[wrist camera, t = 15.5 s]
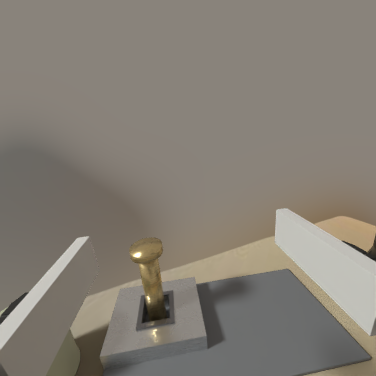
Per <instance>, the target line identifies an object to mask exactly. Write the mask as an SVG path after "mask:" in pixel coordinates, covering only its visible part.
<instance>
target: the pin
mask: <svg viewBox="0 0 376 376" xmlns="http://www.w3.org/2000/svg"><path fill="white" fill-rule="evenodd" d="M129 252H130V257H131V260H132V261H133V262H135V263H138V264H139V268H140V274H141V279H142V284H143V289H144V294H145V300H146V305H147V310H148V315H149V320H150V322H151V321H156V320H162V319H167V313H166V307H165V301H164V294H163V288H162V281H161V275H160V268H159V262H158V258H159V257H160V256H161V254H162V252H163V249H162V242H161V241H160V240H159V239H157V238H145V239H141V240H139V241H137V242H135V243H134V244H133V245H132V246H131V247H130V249H129Z"/></svg>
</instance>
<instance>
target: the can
mask: <svg viewBox="0 0 376 376" xmlns="http://www.w3.org/2000/svg"><path fill="white" fill-rule="evenodd" d="M7 308H8V307H7ZM7 308H6V309H7ZM6 309H4V310H3V311H1V312H0V316H1V314H2V313H3V312H4V311H5V310H6ZM79 363H80V350H79V348H78V346H77V345H76V343H75V340H74V338H73V335H72V333H71V330H70V329H69V331H68V333H67V335H66V337H65V339H64V341H63V343H62V345H61V347H60V349H59V351H58V353H57V355H56V357H55V359H54V361H53V362H52V364H51V366H50V368H49V370H48V372H47V374H46V376H75V374H76V372H77V369H78V367H79Z"/></svg>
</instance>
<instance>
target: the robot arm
mask: <svg viewBox="0 0 376 376" xmlns="http://www.w3.org/2000/svg"><path fill="white" fill-rule="evenodd" d="M275 243H276V244H277V245H278V246H279V247H280V248H281V249H282V250H283V251H284V252H285V253H286V254H287V255H288V256H289V257H290V258H291V259H292V260H293V261H294V262H295V263H296V264H297V265H298V266H299V267H300V268H301V269H302V270H303V271H304V272H305V273H306V274H307V275H308V276H309V277H310V278H311V279H312V280H313V281H314V282H315V283H317V284H318V285H319V286H320V287H321V288H322V289H323V290H324V291H325V292H326V293H327V294H328V295H329V296H330V297H331V298H332V299H333V300H334V301H335V302H336V303H337V304H338V305H339V306H340V307H341V308H342V309H343V310H344V311H345V312H346V313H347V314H348V315H349V316H350V317H351V318H352V319H353V320H354V321H355V322H356V323H357V324H358V325H359V326H360V327H361V328H362V329H363V330H364V331H365V332H366V333H367V334H368V335H369V336H373V335H376V235H375V240H374V243H373V246H372V248H371V249H370V250H369V251H368V252H366V251H364V250H362V249H360V248H359V247H357V246H355V245H353V244H350V243H347V242H345V241H340V240H339V239H337V238H335V237H334V236H332V235H330V234H329V233H327V232H325V231H324V230H322V229H320V228H319V227H317V226H315V225H314V224H312V223H310V222H309V221H307V220H305V219H303V218H302V217H300V216H299V215H297V214H295V213H294V212H292V211H290V210H289V209H287V208H285V209H277V211H276V229H275ZM98 272H99V266H98V263H97V260H96V256H95V253H94V250H93V246H92V243H91V240H90V237H89V236H88V237H81V238H77V239H76V240H75V241H74V242H73V244H72V245H71V246H70V247H69V248H68V249H67V250H66V251H65V253H64V254H63V255H62V256H61V257H60V258H59V259H58V261H57V262H56V263H55V264H54V265H53V266H52V267H51V268H50V269H49V271H48V272H47V273H46V274H45V275H44V276H43V277H42V278H41V280H40V281H39V282H38V283H37V284H36V285H35V286H34V287H33V289H32V290H31V291H30V292H28V293H24V294H23V295H22V296H21V297H19V298H18V299H17V300H15V301H14V302H13V303H11V305H10V306H9V307H8V308H7V309H6V310H5V311H4V312H3V313H2V314H1V316H0V376H46V374H47V372H48V370H49V368H50V366H51V364H52V362H53V361H54V359H55V357H56V355H57V353H58V351H59V349H60V347H61V345H62V343H63V341H64V339H65V337H66V335H67V333H68V331H69V329H70V327H71V325H72V323H73V321H74V319H75V317H76V315H77V313H78V311H79V309H80V308H81V306H82V304H83V302H84V300H85V298H86V296H87V294H88V292H89V290H90V288H91V286H92V284H93V282H94V280H95V278H96V276H97V274H98Z"/></svg>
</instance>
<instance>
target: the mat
mask: <svg viewBox="0 0 376 376" xmlns="http://www.w3.org/2000/svg"><path fill="white" fill-rule="evenodd" d="M196 287H197V292H198V296H199V301H200V306H201V311H202V316H203V321H204V326H205V330H206V335H207V348H208V349H206V350H201V351H197V352H192V353H187V354H182V355H177V356H172V357H167V358H162V359H157V360H152V361H147V362H142V363H138V364H133V365H128V366H123V367H118V368H113V369H108V370H104V372H103V376H302V375H307V374H311V373H315V372H320V371H324V370H329V369H333V368H337V367H342V366H346V365H350V364H355V363H359V362H363V361H368V360H371V357H370V356H369V355H368V354H367V353H366V352H365V350H364V349H363V348H362V347H361V346H360V345H359V344H358V343H357V342H356V341H355V340H354V339H353V338H352V337H351V336H350V334H349V333H348V332H347V331H346V330H345V329H344V328H343V327H342V326H341V325H340V324H339V323H338V322H337V321H336V320H335V318H334V317H333V316H332V315H331V314H330V313H329V312H328V311H327V310H326V309H325V308H324V307H323V306H322V305H321V304H320V302H319V301H318V300H317V299H316V298H315V297H314V296H313V295H312V294H311V293H310V292H309V291H308V290H307V289H306V288H305V286H304V285H303V284H302V283H301V282H300V281H299V280H298V279H297V278H296V277H295V276H294V275H293V274H292V273H291V272H290V270H289V269H284V270H278V271H272V272H266V273H260V274H254V275H248V276H242V277H236V278H230V279H224V280H218V281H212V282H206V283H200V284H196ZM166 313H167V318H170V307H168V308H166ZM146 322H150V320H149V315H148V311H147V317H146Z"/></svg>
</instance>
